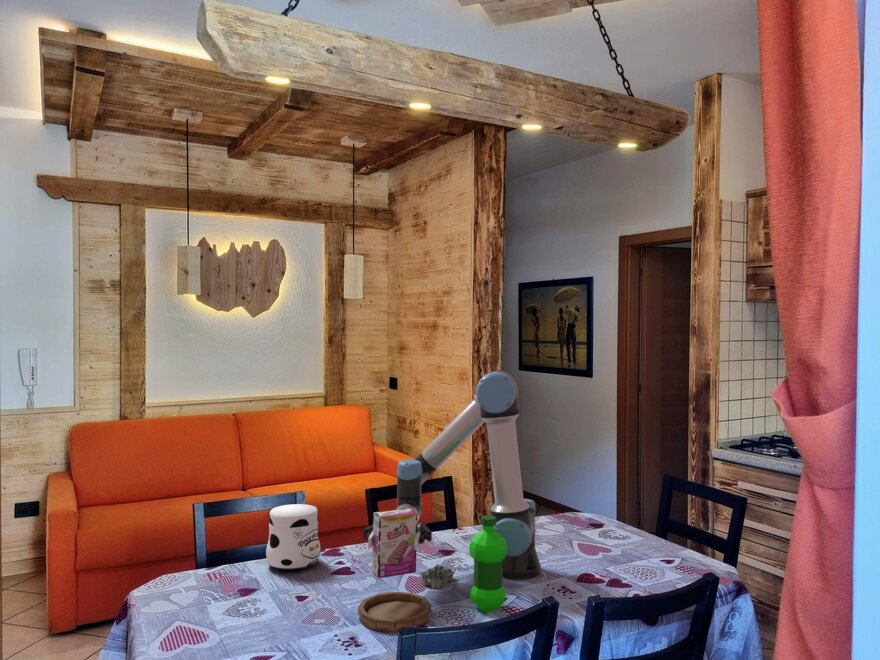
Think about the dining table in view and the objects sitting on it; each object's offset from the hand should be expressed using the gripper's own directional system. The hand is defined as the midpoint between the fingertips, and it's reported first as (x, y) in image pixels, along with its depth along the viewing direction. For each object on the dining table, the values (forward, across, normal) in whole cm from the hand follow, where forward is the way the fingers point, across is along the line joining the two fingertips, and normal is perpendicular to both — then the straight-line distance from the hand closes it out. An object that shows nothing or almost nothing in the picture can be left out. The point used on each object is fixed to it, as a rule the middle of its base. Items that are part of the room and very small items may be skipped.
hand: (392, 544), depth 175 cm
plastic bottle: (-12, -25, -21) cm, 34 cm away
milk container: (-39, +39, -21) cm, 59 cm away
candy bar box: (-4, 0, -9) cm, 10 cm away
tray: (-4, 0, -20) cm, 21 cm away
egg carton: (-30, -9, -21) cm, 38 cm away
